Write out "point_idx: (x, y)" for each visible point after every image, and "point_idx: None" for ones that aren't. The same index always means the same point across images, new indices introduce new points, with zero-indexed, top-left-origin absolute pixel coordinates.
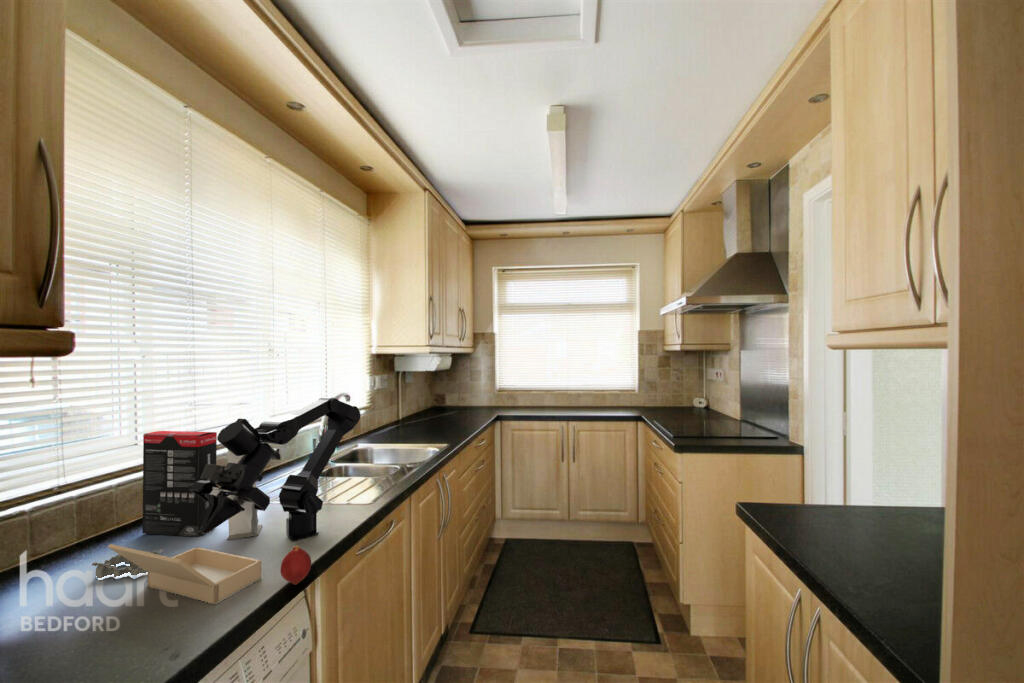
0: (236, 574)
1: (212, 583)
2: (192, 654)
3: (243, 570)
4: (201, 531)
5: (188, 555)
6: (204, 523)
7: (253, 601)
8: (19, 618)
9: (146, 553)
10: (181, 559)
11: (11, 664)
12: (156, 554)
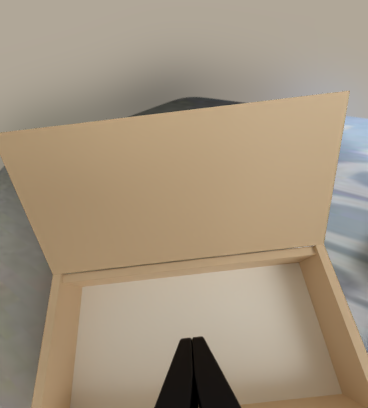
0: (44, 342)
1: (51, 264)
2: (5, 190)
3: (37, 371)
4: (194, 337)
5: (355, 374)
6: (207, 375)
7: (7, 330)
8: (344, 123)
9: (151, 114)
10: (343, 344)
11: (207, 99)
12: (105, 120)
